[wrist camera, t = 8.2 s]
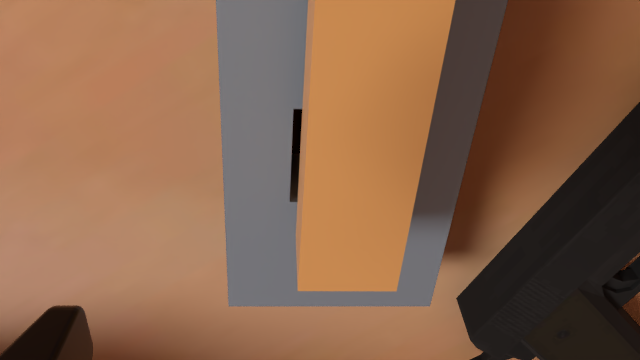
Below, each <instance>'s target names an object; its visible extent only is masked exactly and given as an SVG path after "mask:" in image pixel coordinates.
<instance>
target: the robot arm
mask: <svg viewBox="0 0 640 360" xmlns="http://www.w3.org/2000/svg"><path fill="white" fill-rule="evenodd" d="M92 356H93V343H92V339H91V335H90V331H89V327H88V323H87V319H86V315H85V312H84V310H83V308H82V307H80V306H53V307H51V308H49V309H48V310H47V311H46V312H44V313H43V314H42V315H41V316H40V317H39V318H38V319H37V320H36V321H35V322H34V323H33V324H32V325H31V326H30V327H29V328H28V329H27V330H26V331H25V332H24V333H23V334H22V335H21V336H19V337H18V338H17V339H16V340H15V341H14V342H13V343H12V344H11V345H10V346H9V347H8V348H7V349H6V350H5V351H4V352H3V353H2V354H1V355H0V360H92Z"/></svg>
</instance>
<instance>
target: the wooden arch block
mask: <svg viewBox="0 0 640 360" xmlns="http://www.w3.org/2000/svg"><path fill="white" fill-rule="evenodd" d="M455 1H456V0H308V12H307V31H306V50H305V69H304V88H303V107H302V126H301V145H300V164H299V183H298V202H297V221H296V258H297V287H298V291H397V287H398V282H399V277H400V272H401V267H402V262H403V257H404V252H405V247H406V242H407V237H408V233H409V228H410V223H411V218H412V213H413V208H414V203H415V198H416V193H417V188H418V183H419V178H420V173H421V168H422V163H423V159H424V154H425V149H426V144H427V139H428V134H429V129H430V124H431V119H432V114H433V109H434V104H435V99H436V94H437V89H438V84H439V80H440V75H441V70H442V65H443V60H444V55H445V50H446V45H447V40H448V35H449V30H450V25H451V20H452V15H453V10H454V5H455Z"/></svg>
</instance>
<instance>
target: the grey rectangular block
mask: <svg viewBox="0 0 640 360" xmlns="http://www.w3.org/2000/svg"><path fill="white" fill-rule="evenodd" d="M507 2H508V0H456V1H455V5H454V10H453V15H452V20H451V25H450V30H449V35H448V40H447V45H446V50H445V55H444V60H443V65H442V70H441V75H440V80H439V84H438V89H437V94H436V99H435V104H434V109H433V114H432V119H431V124H430V129H429V134H428V139H427V144H426V149H425V154H424V159H423V163H422V168H421V173H420V178H419V183H418V188H417V193H416V198H415V203H414V208H413V213H412V218H411V223H410V228H409V233H408V237H407V242H406V247H405V252H404V257H403V262H402V267H401V272H400V277H399V282H398V287H397V291H298V287H297V258H296V221H297V202H298V183H299V164H300V154H292V132H293V109H302V107H303V88H304V69H305V50H306V31H307V12H308V0H216V13H217V37H218V61H219V85H220V109H221V133H222V157H223V181H224V205H225V229H226V253H227V277H228V301H229V306H430V304H431V300H432V296H433V292H434V288H435V284H436V280H437V276H438V273H439V269H440V265H441V261H442V257H443V253H444V249H445V245H446V241H447V237H448V233H449V229H450V225H451V222H452V218H453V214H454V210H455V206H456V202H457V198H458V194H459V190H460V186H461V182H462V178H463V174H464V171H465V167H466V163H467V159H468V155H469V151H470V147H471V143H472V139H473V135H474V131H475V127H476V124H477V120H478V116H479V112H480V108H481V104H482V100H483V96H484V92H485V88H486V84H487V80H488V76H489V73H490V69H491V65H492V61H493V57H494V53H495V49H496V45H497V41H498V37H499V33H500V29H501V25H502V22H503V18H504V14H505V10H506V6H507Z"/></svg>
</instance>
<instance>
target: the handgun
mask: <svg viewBox="0 0 640 360" xmlns="http://www.w3.org/2000/svg"><path fill="white" fill-rule="evenodd" d="M639 252H640V102H639V103H638V104H637V105H636V106H635V108H634V109H633V110H632V111H631V112H630V113H629V114H628V115H627V116H626V117H625V118H624V119H623V120H622V121H621V123H620V124H619V125H618V126H617V127H616V128H615V129H614V130H613V131H612V132H611V133H610V134H609V135H608V136H607V138H606V139H605V140H604V141H603V142H602V143H601V144H600V145H599V146H598V147H597V148H596V149H595V150H594V151H593V153H592V154H591V155H590V156H589V157H588V158H587V159H586V160H585V161H584V162H583V163H582V164H581V165H580V166H579V168H578V169H577V170H576V171H575V172H574V173H573V174H572V175H571V176H570V177H569V178H568V179H567V180H566V181H565V183H564V184H563V185H562V186H561V187H560V188H559V189H558V190H557V191H556V192H555V193H554V194H553V195H552V196H551V198H550V199H549V200H548V201H547V202H546V203H545V204H544V205H543V206H542V207H541V208H540V209H539V210H538V211H537V213H536V214H535V215H534V216H533V217H532V218H531V219H530V220H529V221H528V222H527V223H526V224H525V225H524V226H523V228H522V229H521V230H520V231H519V232H518V233H517V234H516V235H515V236H514V237H513V238H512V239H511V240H510V241H509V243H508V244H507V245H506V246H505V247H504V248H503V249H502V250H501V251H500V252H499V253H498V254H497V255H496V256H495V258H494V259H493V260H492V261H491V262H490V263H489V264H488V265H487V266H486V267H485V268H484V269H483V270H482V271H481V273H480V274H479V275H478V276H477V277H476V278H475V279H474V280H473V281H472V282H471V283H470V284H469V285H468V286H467V288H466V289H465V290H464V291H463V292H462V293H461V294H460V295H459V296H458V297H457V298H456V299H457V302H458V305H459V308H460V311H461V314H462V317H463V320H464V323H465V326H466V329H467V332H468V335H469V338H470V340H471V342H472V343H473V344H474V345H475V346H476V347H477V348H478V349H480V350H482V351H484V352H483V353H482V354H481V355H479V356H477V357H475V358H473V359H470V360H507V359H510V358H517V359H520V360H532V359H533V358H535V357H537V358H539V359H540V360H640V326H639V325H638V324H637V323H636V322H635V321H634V320H633V319H632V318H631V317H630V316H629V314H628V313H627V312H626V311H625V310H624V309H623V308H622V306H623V305H624V304H626V303H627V302H628V301H629V300H630V299H632V298H633V297H634V296H635V295H636V294H637V293H639V292H640V256H639V257H638V258H637V259H636V260H635V261H634V262H633V263H632V264H630V265H629V266H628V267H627V268H626V269H625V270H621V269H622V268H623V267H624V266H625V265H626V264H627V263H628V262H629V261H631V260H632V259H633V258H634V257H635V256H636V255H637V254H638V253H639ZM619 270H620V271H619Z"/></svg>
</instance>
